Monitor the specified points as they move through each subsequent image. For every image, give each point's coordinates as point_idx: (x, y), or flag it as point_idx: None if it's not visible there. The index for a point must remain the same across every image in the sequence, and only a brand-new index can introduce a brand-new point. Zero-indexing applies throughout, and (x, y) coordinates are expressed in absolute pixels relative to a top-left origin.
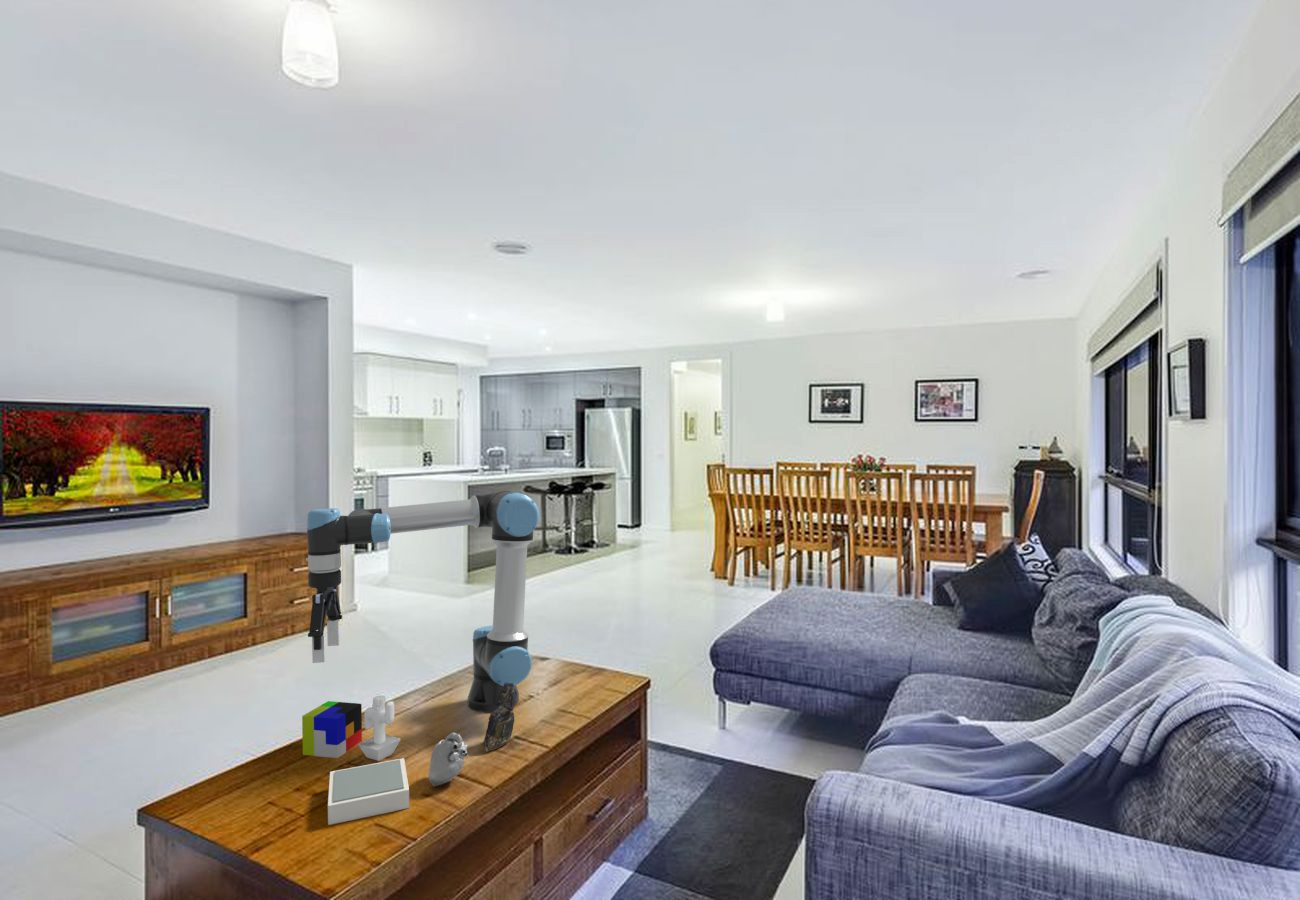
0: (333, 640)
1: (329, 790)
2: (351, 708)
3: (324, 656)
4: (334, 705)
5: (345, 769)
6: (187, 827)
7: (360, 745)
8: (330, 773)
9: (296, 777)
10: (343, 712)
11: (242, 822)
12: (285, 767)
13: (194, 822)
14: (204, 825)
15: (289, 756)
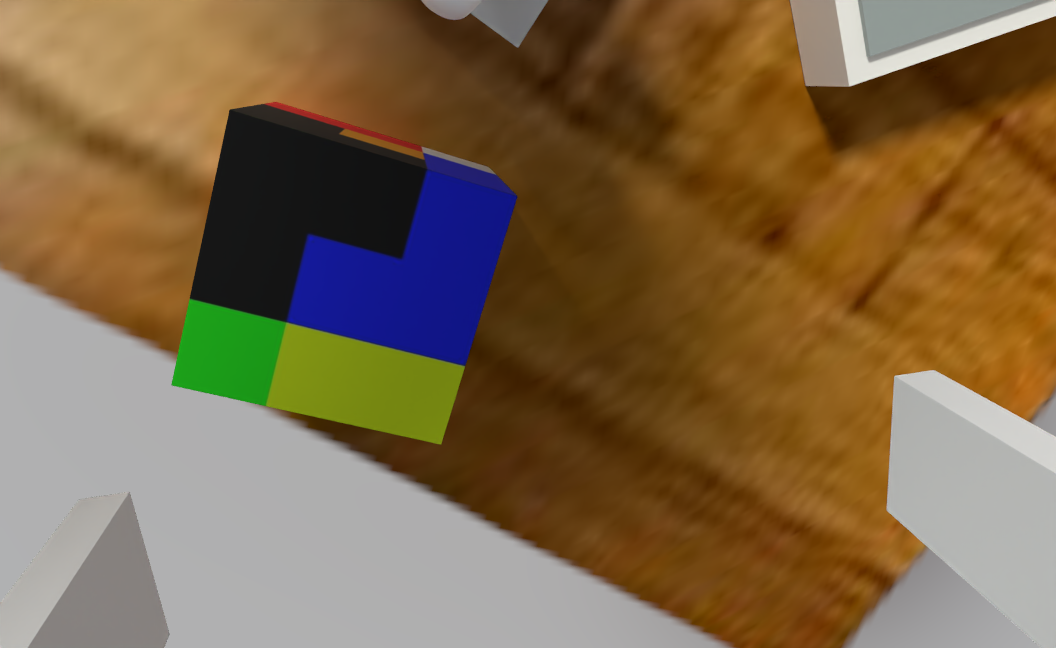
0: (120, 613)
1: (1036, 19)
2: (327, 157)
3: (983, 400)
4: (261, 306)
5: (844, 9)
6: None
7: (527, 28)
8: (868, 77)
9: (665, 288)
10: (403, 191)
11: (980, 336)
12: (559, 380)
13: None
14: None
15: None
